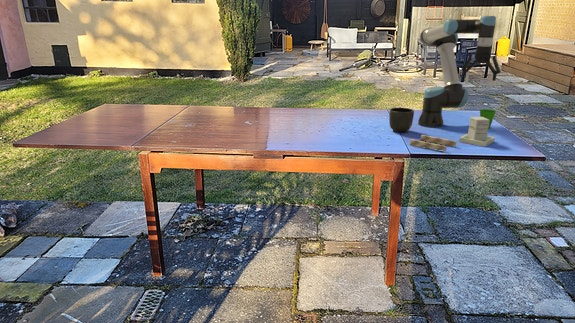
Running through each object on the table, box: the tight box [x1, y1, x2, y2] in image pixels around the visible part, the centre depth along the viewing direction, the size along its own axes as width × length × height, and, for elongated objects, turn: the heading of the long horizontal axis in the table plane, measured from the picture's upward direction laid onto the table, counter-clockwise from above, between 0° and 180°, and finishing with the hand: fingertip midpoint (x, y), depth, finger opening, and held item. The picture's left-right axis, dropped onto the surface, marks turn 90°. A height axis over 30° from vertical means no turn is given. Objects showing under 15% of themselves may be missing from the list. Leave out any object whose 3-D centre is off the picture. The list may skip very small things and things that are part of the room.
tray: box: [458, 133, 496, 148], centre depth 232 cm, size 14×14×2 cm
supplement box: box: [467, 116, 490, 142], centre depth 230 cm, size 7×7×13 cm
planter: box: [388, 107, 415, 134], centre depth 252 cm, size 14×14×13 cm
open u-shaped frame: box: [409, 134, 457, 152], centre depth 224 cm, size 19×14×3 cm
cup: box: [479, 108, 497, 130], centre depth 258 cm, size 9×9×11 cm
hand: (478, 85), depth 238 cm, fingers open, 13 cm apart
